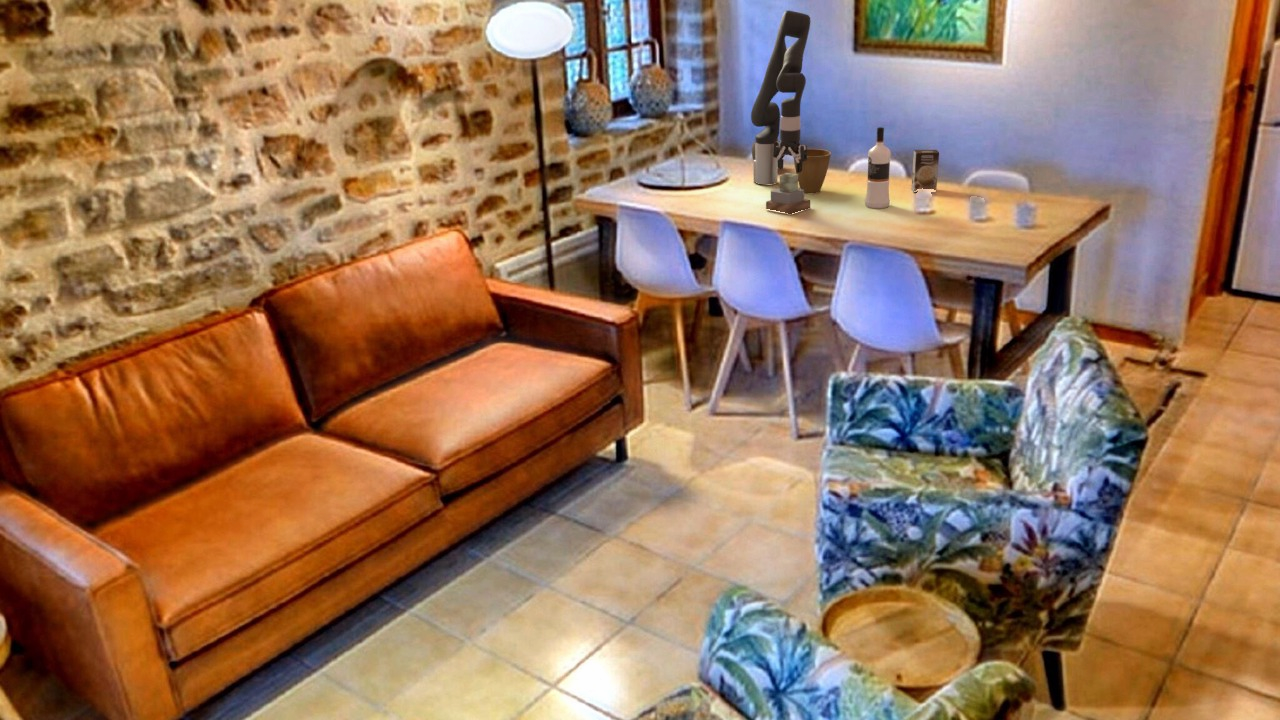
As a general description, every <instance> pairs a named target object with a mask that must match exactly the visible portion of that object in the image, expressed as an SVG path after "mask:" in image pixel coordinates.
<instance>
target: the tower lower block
mask: <svg viewBox="0 0 1280 720" xmlns="http://www.w3.org/2000/svg"><path fill="white" fill-rule="evenodd" d="M808 208H810V209H811V199H807V198H804V200H803V201H800V202H797V203H794V204H791V205H787V204H782V203H776V202H771V199H770V200H767V201H765V210H766V209H770V210H776V211H780V212H785V213H788V214H792V213H795V212H798V211H801V210H805V209H808ZM808 210H809V209H808ZM805 211H806V210H805Z"/></svg>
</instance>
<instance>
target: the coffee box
mask: <svg viewBox="0 0 1280 720" xmlns="http://www.w3.org/2000/svg"><path fill="white" fill-rule="evenodd" d="M912 158H913V159H912V160H913V161H912V175H911V185H910V186H911V188H910V189H911V191H912V193H913V192H914V191H916V190H917V189H922V188H923V189H934V190H936V191H937V189H938V188H937V186H938V172H939V161H940V152H939V150H937V149H914V151H913V157H912Z"/></svg>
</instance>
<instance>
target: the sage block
mask: <svg viewBox="0 0 1280 720" xmlns="http://www.w3.org/2000/svg"><path fill="white" fill-rule="evenodd" d="M779 188H780V191H783V192H790V193H791V192H794V191H796V190H798V189H799V182H798V174H796V173H790V172H785V173H782V174H780V175H779Z"/></svg>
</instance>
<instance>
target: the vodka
mask: <svg viewBox="0 0 1280 720" xmlns="http://www.w3.org/2000/svg"><path fill="white" fill-rule="evenodd" d="M884 133H885V128H884V127H883V126H878V127H877V128H876V142H875V145H874V146H873V147H871V148H870V149H869V150H868V152H867V156H868V159H867V180H866V182H867V183H866V195H865V199H864V205H865V206H866V207H867V208H868V209H877V210H878V209H879V210H880V209H885V208H887V207H889V206H890V203H891V202H890V201H891V198H890V192H889V191H890V168H891V167H890V166H891V156H892V155H891V154H892V152H891V150H890V149H889V148H888V147H887V146H886V145H884V138H885V137H884Z"/></svg>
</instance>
